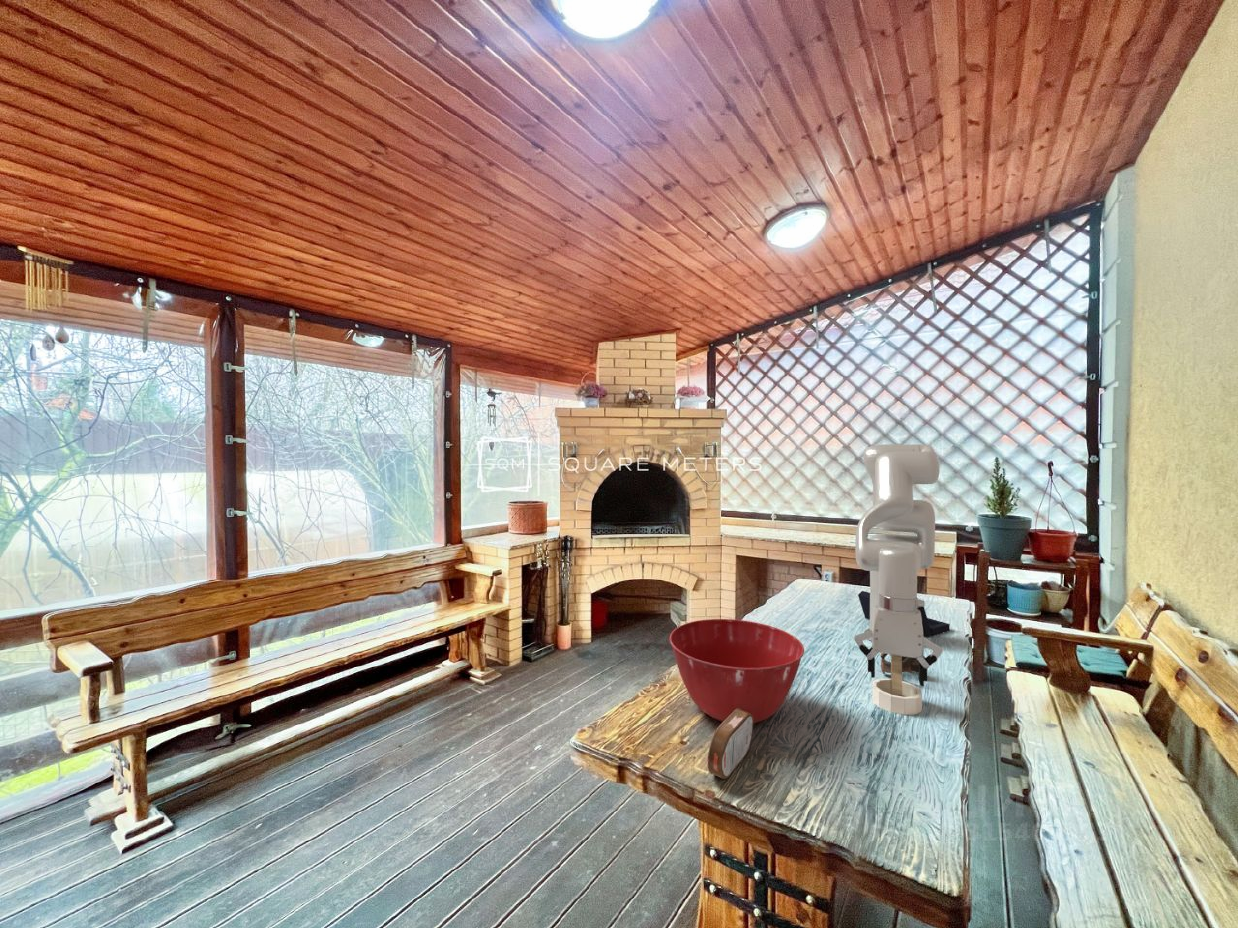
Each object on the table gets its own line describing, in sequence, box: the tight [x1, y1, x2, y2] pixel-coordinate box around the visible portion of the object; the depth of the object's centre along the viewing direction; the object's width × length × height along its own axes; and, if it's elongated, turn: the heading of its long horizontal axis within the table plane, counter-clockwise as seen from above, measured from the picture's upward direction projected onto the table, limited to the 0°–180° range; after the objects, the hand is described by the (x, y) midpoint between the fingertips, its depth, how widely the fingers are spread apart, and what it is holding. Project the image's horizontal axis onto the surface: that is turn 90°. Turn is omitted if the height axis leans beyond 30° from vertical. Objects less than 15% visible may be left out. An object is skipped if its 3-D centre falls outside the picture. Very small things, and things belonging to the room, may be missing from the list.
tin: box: [707, 708, 754, 780], centre depth 91 cm, size 15×3×8 cm, turn 144°
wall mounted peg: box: [886, 655, 908, 697], centre depth 114 cm, size 4×4×10 cm
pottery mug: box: [880, 653, 920, 675], centre depth 129 cm, size 12×9×8 cm
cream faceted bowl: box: [871, 678, 923, 716], centre depth 114 cm, size 10×10×4 cm
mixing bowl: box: [669, 618, 805, 725], centre depth 111 cm, size 28×28×15 cm
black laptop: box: [857, 590, 951, 639], centre depth 165 cm, size 21×16×10 cm
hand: (896, 679), depth 114 cm, fingers open, 9 cm apart
